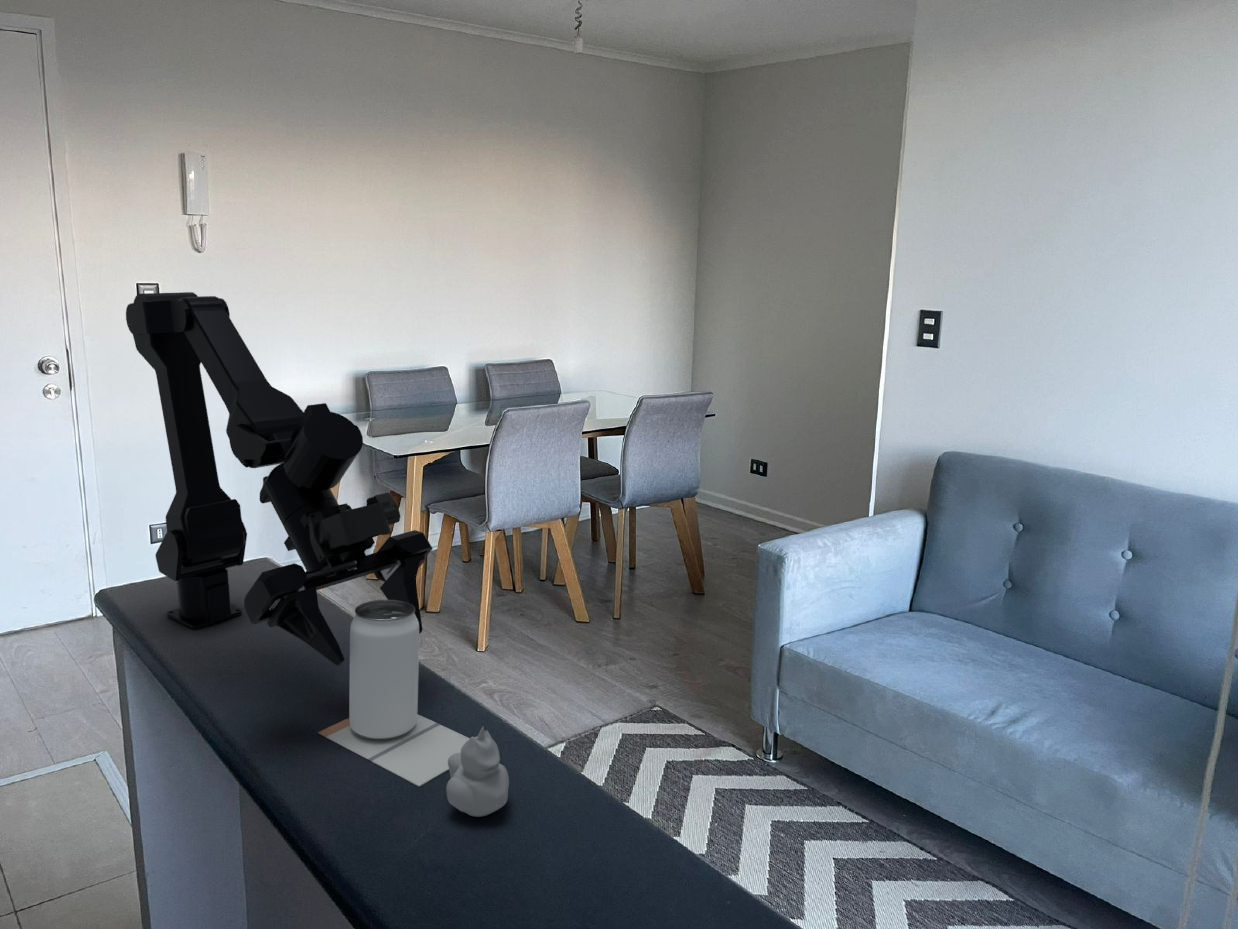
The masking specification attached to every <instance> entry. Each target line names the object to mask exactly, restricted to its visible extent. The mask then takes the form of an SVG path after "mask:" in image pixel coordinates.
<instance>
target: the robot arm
mask: <svg viewBox="0 0 1238 929" xmlns="http://www.w3.org/2000/svg"><path fill="white" fill-rule="evenodd" d="M230 314H231V313H230V310H229V306H228V302H226V301H225V299H224V298H220V297H218V296H216V295H210V296H209V295H206V296H203V295H202V296H198V295H197V294H196V293H195V292H192V291H187V292H149V293H146V292H145V293H138V294H136V296H135V297H134V300H133V302H132V303H129V304H127V306H126V310H125V321H126V325H127V328H128V331H130V334H132V338H133V341H134V345H135V349H136V351H137V352H138V353H139V355H140V356H142V358H143V359H144V360H145V361H146V362H147V363H148V364H149V366H151V368H152V369H153V370H154V372H155V376H156V381H157V388H158V394H159V397H160V398H159V399H160V405H161V411H162V416H163V423H164V429H165V434H166V435H165V436H166V441H167V445H168V452H169V457H170V458H169V459H170V463H171V468H172V469H171V470H172V476H173V480H174V486H175V494H174V496H173V499H172V501H171V504H170V506H169V508H168V510H167V512H166V515H165V527H166V533H165V535H164V537H163V539H162V541H161V542H160V545H159V547H158V548H157V551H156V552H155V560H156V564H157V569H158V571H159V573H160V574H162V575H164V576H165V577H167V578H169V579H171V580H172V581H174V582H176V590H177V602H178V608H175V609H171V610H169V611H166V616H167V617H168V618H170V619H172V620H174V621H177V622H178V623H181V624H182V625H184V626H187V627H189V628H190V629H195V630H196V629H200V628H204V627H207V626H209V625H213V624H216V623H218V622H221V621H225V620H228V619H231V618H234V617H236V616H239V615H240V616H241V615H242V614H243V609H242V608H241V607H238V606H235V605H233V604H231V603H232V602H231V590H230V584H229V571H228V568H232V567H237V566H238V567H240V566H243V565H244V560H245V553H246V552H245V551H246V545H247V538H248V532H247V528H246V527H245V524H244V522H243V518H242V509H241V504H240V503H239V502H238V500H237V499H236V498H233V499H232V498H231V497H230V496H229V494H227V493H226V492H225V490H224V489H223V488H222V487H221V486H220V485H221V484H220V480H219V474H218V468H217V463H216V458H215V457H216V456H215V451H214V450H215V449H214V445H213V439H212V432H211V426H210V421H209V415H208V414H209V413H208V408H207V403H206V397H205V392H204V384H203V379H202V378H203V377H202V374H201V373H202V372H201V365H202V366H203V368H204V370H205V372H206V373H207V375H208V377H209V379H210V381H211V383H212V384H213V385H214V387H215V390H216V391H217V393H218V395H219V396H220V399H221V400H222V401H223V404H224V405H225V408H226V409H227V411H228V420H227V424H226V428H225V432H226V436H227V437H228V439H229V445H230V449H231V452H232V454H233V455H234V457H235V458H236V459H237V460H238V461H239V462H240V464H241V465H243V467H245V468H250V469H257V468H264V467H270V466H274V467H273V468H272V469H271V471H270V472H269V474H268V475H267V476H266V475H265V476H264V477H263V478H262V488H260V491H259V502H260V503H261V504H267V503H271V505H272V507H273V509H274V511H275V513H276V515H277V516H278V518H279V521H280V522H281V524H282V526H283V528H284V530H285V532H286V534H287V538H286V539H285V540H284V542H283V544H284V546H285V547H286V550H287V551H288V552H290V551H293V550H295V552H296V553H297V555H298V557H299V559H300V561H301V563H302V565H303V566H302V565H300V564H297V563H295V562H294V563H293V562H292V563H291V564H287V565H282V566H280V567H279V566H278V567H276V568H272V569H269V570H265V571H262V572H261V573H260V574H259V576H258V578H257V579H256V580H255V582H254V583H253V585H252V586H251V587H250V589H249V590H248V591H247V593H246V594H245V597H244V599H243V604H244V610H245V612H246V614H247V616H248V618H249V621H250V623H251V624H254V625H256V624H261V623H263V622H266V625H267V627H269V628H274V627H279V628H280V629H282V630H283V631H285V632H287V633H289V634H290V635H293V636H294V637H296V638H297V639H299V640H301V641H302V642H304V643H305V644H307V645H308V646H309V647H311V648H312V649H313V650H314V651H316V652H317V653H319V654H320V655H322V656H323V657H324V658H326V659H328V660H329V661H330V662H331V663H333V664H335V666H341V665H342V664H343V663H344V662H345V657H344V654H343V652H342V649H341V646H340V644H339V642H338V641H337V638H336V637H335V635H334V633H333V631H332V630H331V627H330V626H329V624H328V622H327V621H326V618H325V617H324V615H323V613H322V612H321V609H320V607H319V599H318V594H317V591H318V590H319V591H320V590H323V589H326V588H329V587H331V586H336V585H338V584H343V583H345V582H348V581H352V580H355V579H358V578H362V577H365V576H368V575H371V574H374V576H375V578H376V579H378V580H380V581H381V582H384V583H382V585H381V586H380V587H379V589H380V590H381V592H382V593H383V595H384V597H385V598H386V600H399V601H404V602H407V603H410V604H412V605H413V606H414V607H415V612H414V613H415V616H416V618H417V620H418V622H419V635H420V634H421V633H422V632H423V622H422V617H421V611H420V604H419V596H418V584H417V582H418V580H417V578H418V572H419V568H420V567H421V566H422V565H423V564H424V563H425V562H426V557H427V556H428V555H429V554H430V553H431V551H432V550H433V547H432V545H431V543H430V540H429V539H428V538H427V536H426V534H424V532H422V531H419V530H416V529H413V530H411V531H406V532H402V533H399V534H395V535H393V536H389V537H388V538H387V539H386V540H385V542H383V544H382V545H381V546H380V548H378V550H377V551H376V552H374V553H370V554H367V553H366V551H367V550H369V549H371V548H373V546H374V544H375V543H376V542H375V540H374V538H375V537H378V536H380V535H381V536H387V535H390V534H391V533H392V530H391V528H390V526H391V525H394V524H397V523H399V522H400V520H401V513H400V510H399V506H398V504H397V503H396V501H395V500H394V498H393V496H392V495H391V493H390V492H384V493H380V494H376V495H374V496H372V497H368V498H367V499H366V505H364V506H361V507H356V508H352V506H350V504H348V503H347V502H346V503H343V504H339V503H338V500H337V498H336V497H335V495H334V493H333V492H332V490H331V489H333V488H335V487H336V486H337V485H338V484H339V483H340V482H341V480H342V478H343V477H344V475H345V474H346V472H347V471H348V470H349V468H350V467H351V465H352V464H353V462H354V460H355V459H356V458H357V456H358V455H359V453H360V452H361V451H362V448H363V444H364V440H363V438H364V436H363V434H362V432H361V430H360V428H359V426H358V425H356V424H354V423H353V421H351V420H350V419H348V418H347V417H346V416H343V415H342V414H340V413H336V412H334V411H331V410H330V408H329V406H328V404H327V403H326V402H323V403H317V404H316V403H315V404H308V405H306V407H305V409H304V411H303V409H301V407H300V406H299V405H298V404H297V403H296V401H295V400H294V399H293V398H292V396H290V395H289V394H287V393H285V392H283V391H281V390H280V389H277V388H275V387H273V386H272V385H271V383H270V382H269V381H268V379H267V378H266V377H265V375H264V373H263V371H262V370H261V368H260V366H259V365H258V362H257V361H256V359H255V358H254V356H253V354H252V353H251V351H250V350H249V347H248V346H247V344H246V343H245V341H244V339H243V338H242V336H241V335H240V332H239V331H238V329H237V327H236V326H235V324H234V322H233V321H232V320H231V316H230ZM305 570H306V571H305Z"/></svg>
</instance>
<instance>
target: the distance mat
mask: <svg viewBox="0 0 1238 929" xmlns="http://www.w3.org/2000/svg"><path fill="white" fill-rule="evenodd" d="M317 733H318V735H321V736H322V737H324V738H326V739H328V740H330V741H332V742H333V743H336V744H337V745H340V746H341V747H344V748H345V749H347V750H349V751H350V752H352V753H355V754H356V755H358V756H360V757H362V758H364V759H366V760H368V762H369V761H370V762H372V763H373V764H375V765H377V766H379V767H380V768H383V769H385V770H387V771H388V772H390V773H392V774H394V775H396V776H398V777H399V778H402V779H403V780H406V782H410V783H411V784H412V785H415V786H416V787H419V788H420V787H421V786H423V785H425V784H426V783H428V782H430V781H432V780H433V779H435V778H437V777H438V776H440V775H442V774H444V773H445V772H447V771H450V770H449V766H448V758H449V757H450V756H451V755H453V754H455V753H461V748H462V746H463V745H464V744H465V743H466V742H467V741H468V740H469V739H470V738H471V737H468V736H465V735H464V734H461V733H459V732H457V731H455V730H453V729H450V728H448V727H446V726H445V725H441V724H440V723H438V722H436V721H433V720H431V719H429V718H427V717H424V716H422V715H420V714H418V713H417V723H416V725H415V726H414V727H413V728H412V730H410V731H409V732H408V733H407V734H405V735H403V736H400V737H397V738H392V739H384V740H376V739H368V738H364V737H361V736H359V735H358V734H356V733H355V732H354V731H353V730H352V729H351V727H350V719H349V717H347V718H346V719H343V720H341V721H339V722H337V723H334V724H332V725H331V726H328V727H326V728H324V729H322V730H321V731H318V732H317Z"/></svg>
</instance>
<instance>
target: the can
mask: <svg viewBox="0 0 1238 929" xmlns="http://www.w3.org/2000/svg"><path fill="white" fill-rule="evenodd" d="M354 612H355V615H354V616H353V618H352V621H351V623H350V630H349V631H350V632H349V694H348V696H349V697H348V698H349V702H348V703H349V708H348V709H349V712H348V714H349V717H348V718H349V719H350V727H351V729H352V730H353V731H354V732H355V733H356V734H358V735H359V736H361V737H364V738H368V739H376V740H384V739H392V738H397V737H400V736H403V735H405V734H407V733H408V732H409V731H410V730H412V728H413V727H414V726H415V725H416V723H417V714H418V707H419V706H418V705H419V704H418V703H419V670H420V669H419V668H420V667H419V666H420V664H419V663H420V660H419V659H420V657H419V656H420V654H419V653H420V634H419V622H418V620H417V618H416V616H415V613H414V612H415V607H414V606H413V605H412V604H410V603H407V602H404V601H399V600H388V599H377V600H370V601H366V602H363V603H360V604H359V605H357V606H356V607H355V609H354Z"/></svg>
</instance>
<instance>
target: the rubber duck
mask: <svg viewBox="0 0 1238 929" xmlns="http://www.w3.org/2000/svg"><path fill="white" fill-rule="evenodd" d="M469 738H470V739H469V740H468V741H467V742H466V743H465V744H464V745H463V746H462V748H461V753H455V754H453V755H451V756H450V757H449V758H448V766H449V770H448V771H449V774H450V775H449V776H450V779H449V780H448V781H447V783H446V788H445V789H446V790H445V792H446V798H447V801H448V802H449V804H450V805H451V806H453V807H454V808H455V809H457V810H458V811H460V812H462V813H465V814H467V815H469V816H471V817H477V818H478V817H479V818H480V817H485V816H488V815H490V814H492V813H494V812H496V811H498V810H500V809H501V808H502V807H504V806H505V805H506V803H507V802H508V796H509V787H510V786H509V785H510V778H509V772H508V771H507V769H506V767H505V765H503V764H501V763H500V760H501V757H500V756H501V755H500V751H499V747H498V744H497V743H496V742H495V740H494V739H493V738H492V736H491V734H490V733H489V730H488V729H486V730H485V728H484V726H482V727H481V728H480V731H479V732H478V735H477V736H471V737H469Z"/></svg>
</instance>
